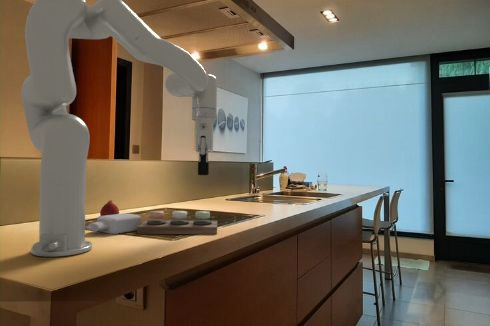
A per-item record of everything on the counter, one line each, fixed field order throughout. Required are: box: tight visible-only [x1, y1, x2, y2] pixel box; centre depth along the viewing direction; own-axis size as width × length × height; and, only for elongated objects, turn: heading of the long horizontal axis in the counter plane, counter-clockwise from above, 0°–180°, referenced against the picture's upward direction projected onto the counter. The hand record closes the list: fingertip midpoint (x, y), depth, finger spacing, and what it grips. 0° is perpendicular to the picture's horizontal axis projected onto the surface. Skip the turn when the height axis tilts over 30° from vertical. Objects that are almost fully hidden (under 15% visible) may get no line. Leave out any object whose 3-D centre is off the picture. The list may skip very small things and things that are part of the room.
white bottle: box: [85, 212, 142, 235], centre depth 108 cm, size 5×9×15 cm
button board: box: [136, 219, 218, 235], centre depth 112 cm, size 12×23×3 cm, turn 94°
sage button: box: [194, 210, 211, 220], centre depth 113 cm, size 4×4×2 cm
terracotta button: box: [148, 210, 165, 220], centre depth 112 cm, size 4×4×2 cm
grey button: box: [171, 210, 188, 220], centre depth 112 cm, size 4×4×2 cm
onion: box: [99, 199, 120, 216], centre depth 121 cm, size 6×6×8 cm
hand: (203, 174), depth 113 cm, fingers closed
